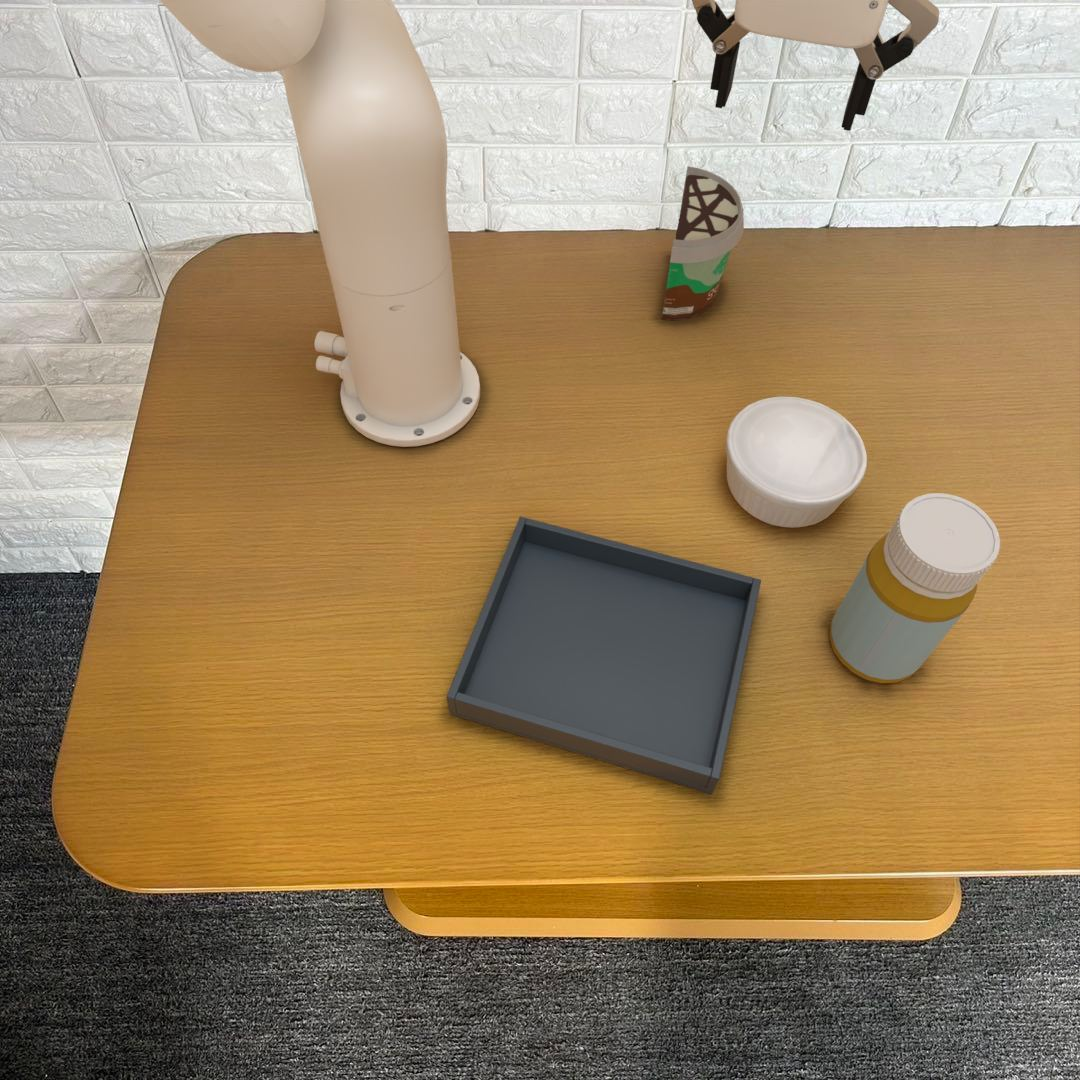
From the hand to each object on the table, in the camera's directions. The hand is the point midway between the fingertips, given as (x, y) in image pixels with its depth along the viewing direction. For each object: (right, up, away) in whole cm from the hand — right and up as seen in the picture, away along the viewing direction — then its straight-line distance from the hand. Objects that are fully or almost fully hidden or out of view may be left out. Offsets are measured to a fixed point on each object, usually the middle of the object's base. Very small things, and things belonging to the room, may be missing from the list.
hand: (784, 109), depth 69 cm
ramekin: (+2, -29, +7) cm, 30 cm away
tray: (-14, -42, -2) cm, 44 cm away
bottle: (+6, -41, -1) cm, 42 cm away
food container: (-3, -8, +21) cm, 23 cm away
